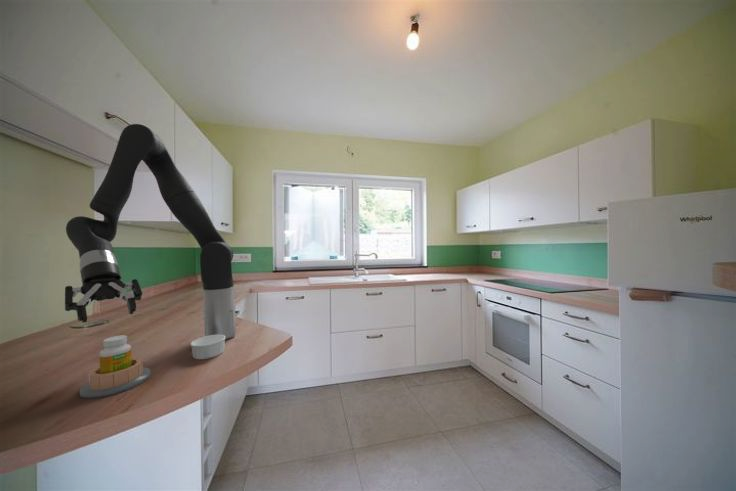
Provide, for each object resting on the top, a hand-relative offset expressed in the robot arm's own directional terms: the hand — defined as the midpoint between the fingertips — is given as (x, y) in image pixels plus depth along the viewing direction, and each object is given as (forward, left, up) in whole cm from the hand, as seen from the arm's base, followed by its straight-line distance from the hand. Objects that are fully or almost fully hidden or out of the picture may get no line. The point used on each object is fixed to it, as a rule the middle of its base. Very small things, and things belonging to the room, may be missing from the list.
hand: (109, 316), depth 66 cm
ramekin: (-21, -3, -15) cm, 26 cm away
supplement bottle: (-4, +7, -14) cm, 16 cm away
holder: (-4, +7, -15) cm, 17 cm away
